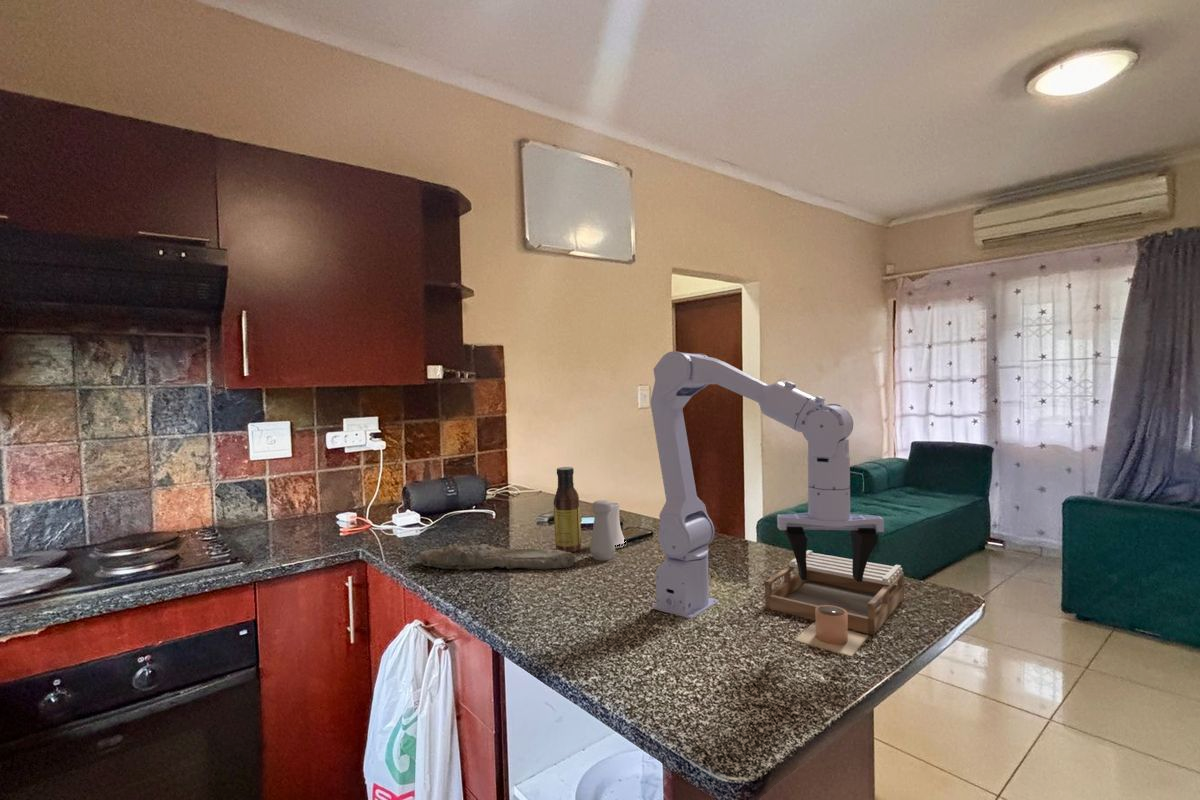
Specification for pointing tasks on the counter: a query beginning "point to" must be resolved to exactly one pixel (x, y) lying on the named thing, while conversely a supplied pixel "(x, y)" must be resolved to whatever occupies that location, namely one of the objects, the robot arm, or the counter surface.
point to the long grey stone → (495, 558)
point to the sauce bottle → (567, 512)
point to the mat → (846, 649)
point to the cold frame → (835, 597)
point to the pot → (831, 624)
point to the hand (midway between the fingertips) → (830, 578)
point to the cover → (849, 568)
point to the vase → (616, 525)
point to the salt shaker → (602, 532)
